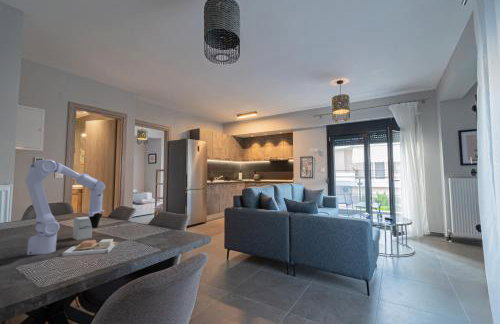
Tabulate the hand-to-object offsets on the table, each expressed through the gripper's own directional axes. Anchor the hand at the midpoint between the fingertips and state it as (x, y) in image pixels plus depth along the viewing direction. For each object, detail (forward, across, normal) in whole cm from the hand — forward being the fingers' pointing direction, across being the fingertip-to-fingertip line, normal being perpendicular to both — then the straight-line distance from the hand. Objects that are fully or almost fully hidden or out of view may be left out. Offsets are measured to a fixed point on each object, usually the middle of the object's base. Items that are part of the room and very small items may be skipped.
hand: (94, 227), depth 124 cm
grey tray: (+8, -18, -4) cm, 20 cm away
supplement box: (+9, +10, +9) cm, 16 cm away
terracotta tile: (+7, -8, 0) cm, 11 cm away
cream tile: (+7, -8, -8) cm, 13 cm away
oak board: (+8, -8, -4) cm, 12 cm away
